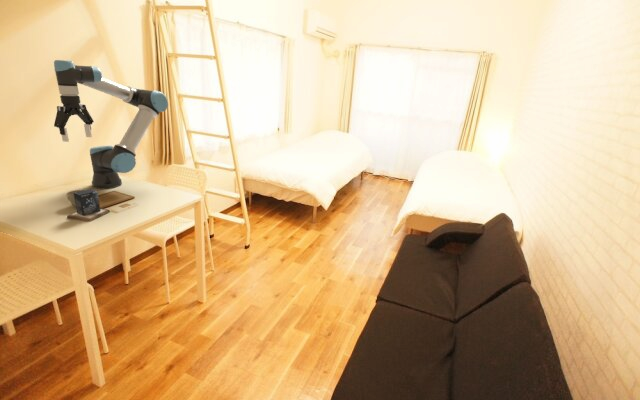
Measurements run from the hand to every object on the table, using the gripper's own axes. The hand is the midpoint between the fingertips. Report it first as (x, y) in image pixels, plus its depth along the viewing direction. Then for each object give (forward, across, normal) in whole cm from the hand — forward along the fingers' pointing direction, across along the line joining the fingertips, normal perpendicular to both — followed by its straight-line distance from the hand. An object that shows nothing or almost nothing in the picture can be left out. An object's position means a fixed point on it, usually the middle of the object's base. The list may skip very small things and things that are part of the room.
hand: (77, 139), depth 167 cm
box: (+31, +18, +17) cm, 39 cm away
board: (+32, +18, +17) cm, 40 cm away
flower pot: (+32, +10, +5) cm, 34 cm away
